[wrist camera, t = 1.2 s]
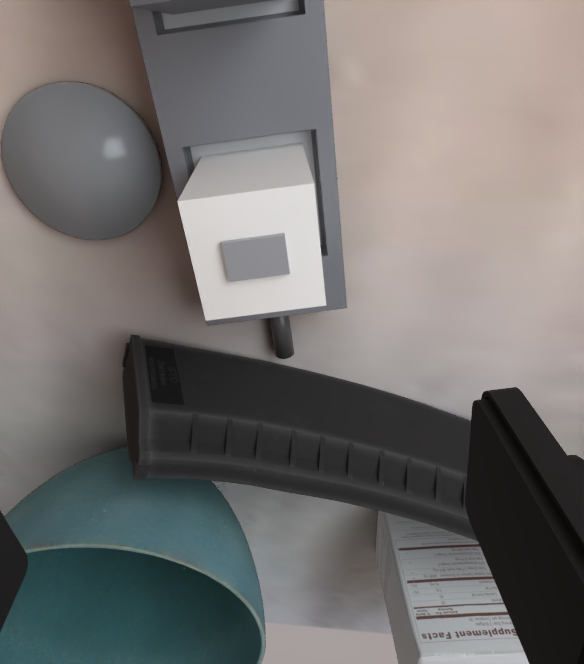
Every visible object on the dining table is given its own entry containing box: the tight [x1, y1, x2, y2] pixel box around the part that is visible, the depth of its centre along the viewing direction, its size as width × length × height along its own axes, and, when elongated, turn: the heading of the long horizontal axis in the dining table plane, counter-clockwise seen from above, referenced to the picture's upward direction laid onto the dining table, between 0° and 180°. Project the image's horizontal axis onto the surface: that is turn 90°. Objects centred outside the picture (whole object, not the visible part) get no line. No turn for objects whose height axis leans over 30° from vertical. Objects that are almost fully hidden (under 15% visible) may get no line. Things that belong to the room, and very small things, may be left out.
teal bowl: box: [0, 447, 266, 664], centre depth 34 cm, size 18×18×12 cm
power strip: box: [131, 0, 347, 359], centre depth 25 cm, size 28×8×4 cm, turn 7°
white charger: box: [177, 142, 326, 321], centre depth 23 cm, size 5×5×8 cm
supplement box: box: [375, 511, 529, 664], centre depth 37 cm, size 7×7×13 cm
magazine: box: [123, 335, 478, 541], centre depth 31 cm, size 17×3×30 cm
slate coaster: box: [1, 81, 162, 240], centre depth 27 cm, size 8×8×1 cm
